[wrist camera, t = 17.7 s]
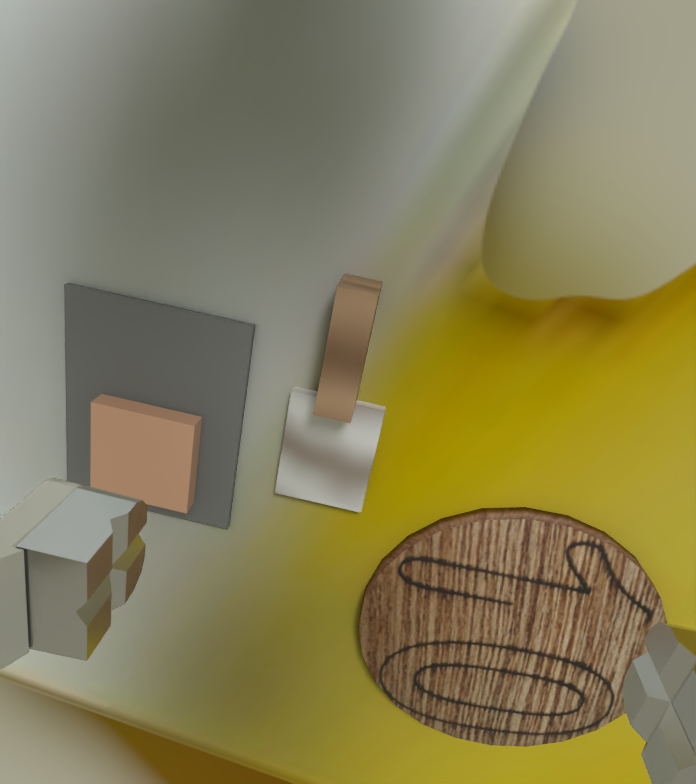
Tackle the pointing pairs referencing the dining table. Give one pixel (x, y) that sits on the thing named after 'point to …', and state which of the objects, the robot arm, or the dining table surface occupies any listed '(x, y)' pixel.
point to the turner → (335, 411)
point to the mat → (159, 382)
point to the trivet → (508, 625)
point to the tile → (144, 452)
